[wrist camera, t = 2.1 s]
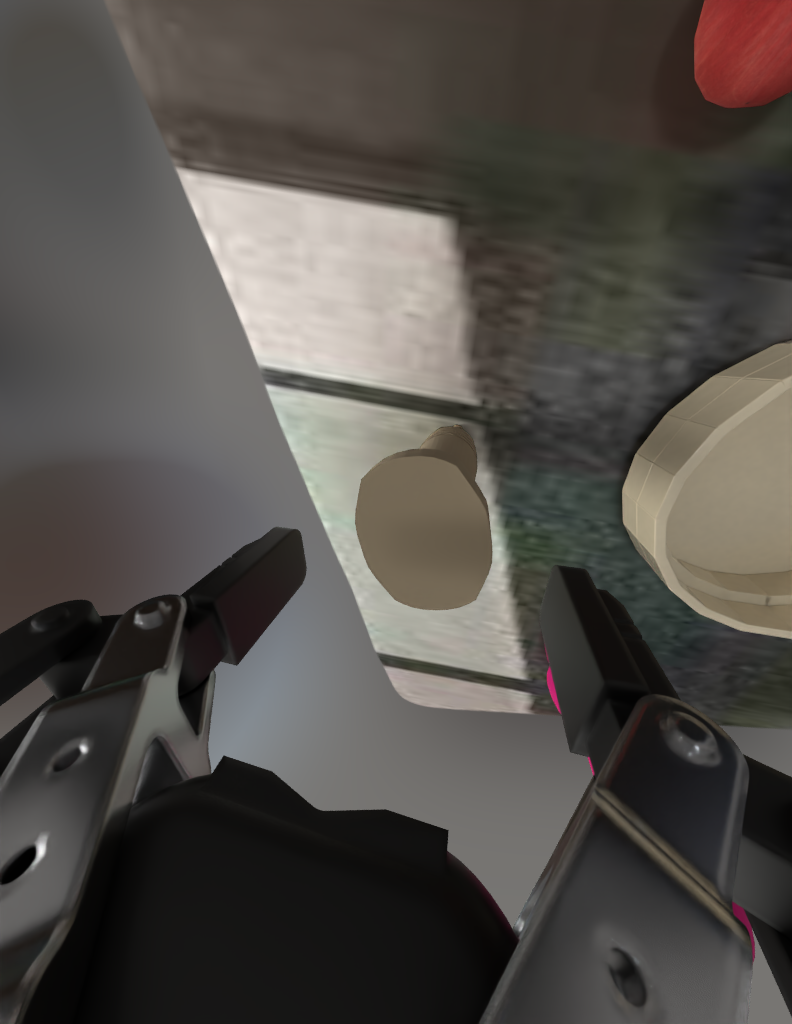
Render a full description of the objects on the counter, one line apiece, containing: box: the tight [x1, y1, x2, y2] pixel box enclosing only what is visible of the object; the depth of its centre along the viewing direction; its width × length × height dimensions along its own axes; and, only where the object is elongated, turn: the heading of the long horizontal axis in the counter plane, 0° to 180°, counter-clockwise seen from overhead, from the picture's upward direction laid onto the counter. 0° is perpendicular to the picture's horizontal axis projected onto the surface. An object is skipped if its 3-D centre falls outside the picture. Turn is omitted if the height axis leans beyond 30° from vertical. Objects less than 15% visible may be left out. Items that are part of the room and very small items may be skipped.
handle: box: [355, 425, 492, 610], centre depth 17 cm, size 5×6×15 cm
